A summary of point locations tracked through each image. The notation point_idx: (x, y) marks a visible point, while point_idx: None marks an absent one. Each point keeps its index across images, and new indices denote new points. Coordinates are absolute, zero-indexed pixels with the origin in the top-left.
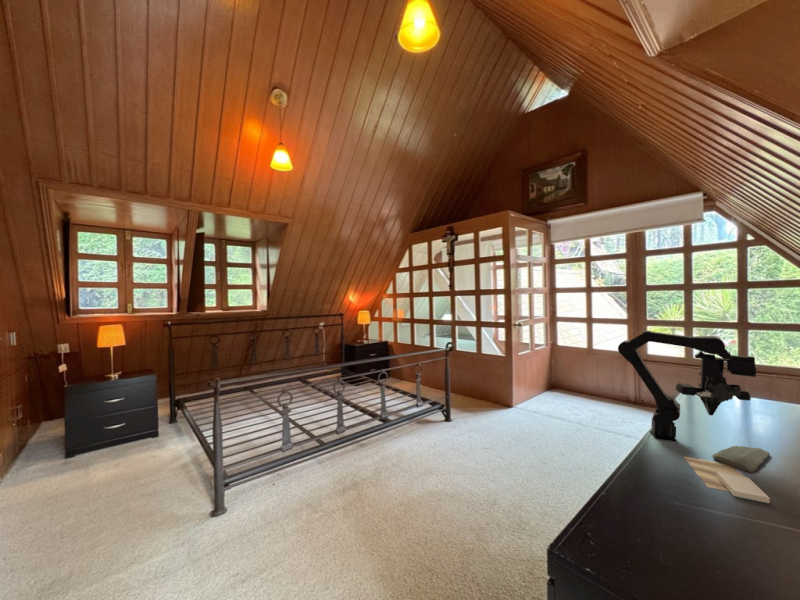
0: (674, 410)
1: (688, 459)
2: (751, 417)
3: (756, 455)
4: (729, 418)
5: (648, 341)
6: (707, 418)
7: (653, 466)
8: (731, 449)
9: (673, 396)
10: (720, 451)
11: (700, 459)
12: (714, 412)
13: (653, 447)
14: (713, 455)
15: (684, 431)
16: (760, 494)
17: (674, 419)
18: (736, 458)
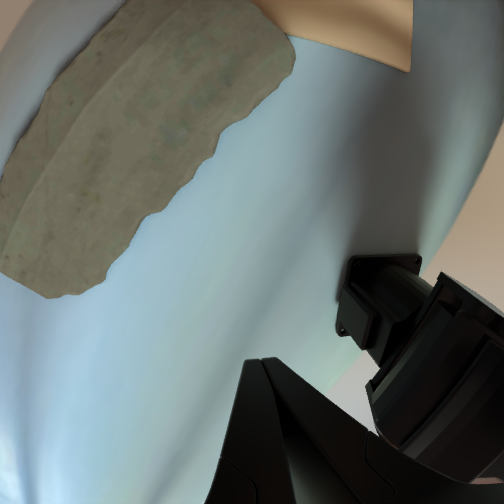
0: (497, 333)
1: (402, 44)
2: (20, 489)
3: (46, 134)
4: (60, 489)
5: None
6: (113, 488)
7: (494, 17)
8: (128, 198)
9: (476, 476)
10: (210, 143)
11: (353, 48)
12: (241, 386)
13: (464, 154)
14: (289, 65)
15: None
16: None
17: (443, 304)
18: (200, 16)
